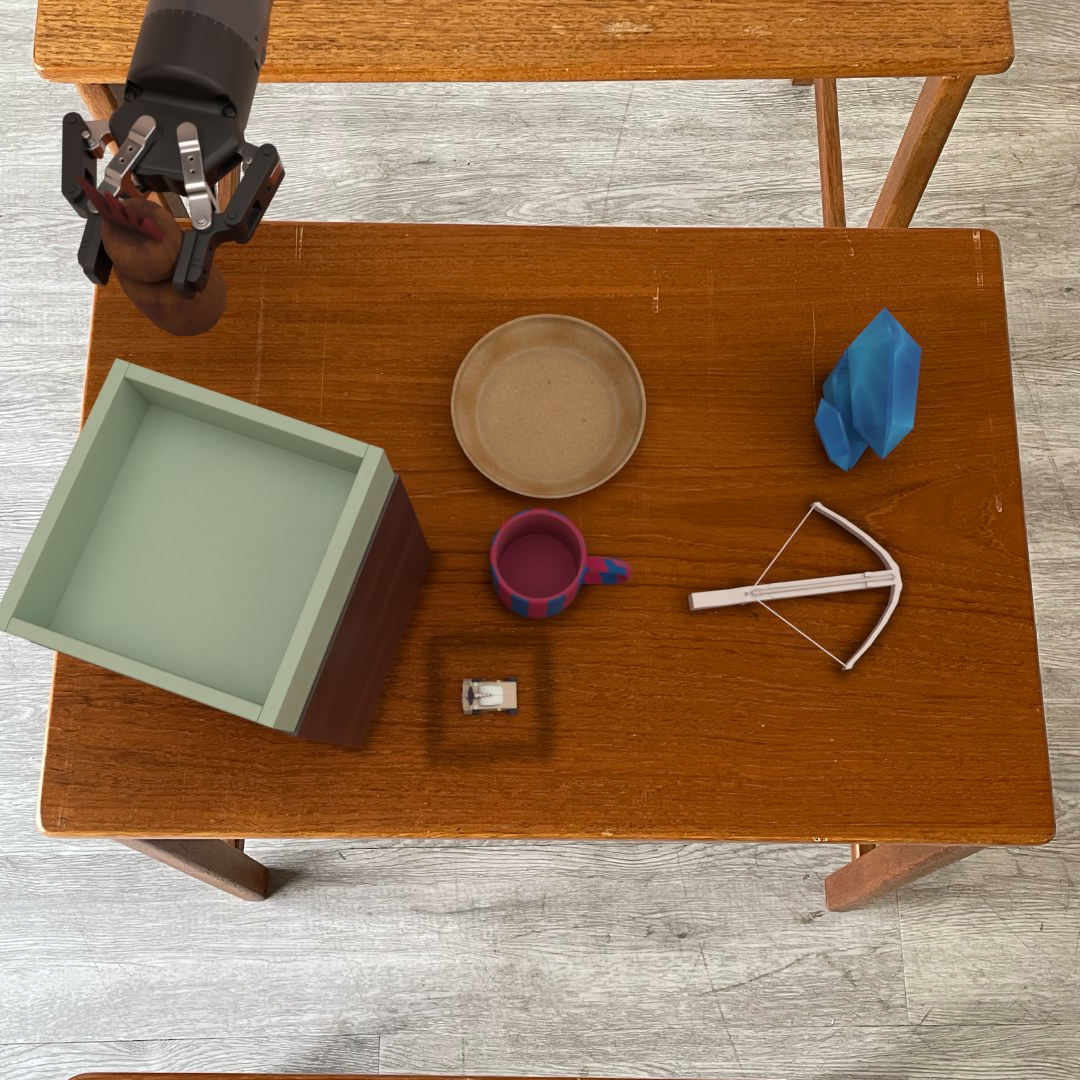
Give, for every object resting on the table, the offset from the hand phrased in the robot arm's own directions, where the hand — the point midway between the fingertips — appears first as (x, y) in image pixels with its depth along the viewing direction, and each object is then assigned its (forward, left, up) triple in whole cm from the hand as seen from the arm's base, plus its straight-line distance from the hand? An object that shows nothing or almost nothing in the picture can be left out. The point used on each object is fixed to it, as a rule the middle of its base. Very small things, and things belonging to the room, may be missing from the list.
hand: (139, 285), depth 63 cm
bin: (+13, -14, +4) cm, 20 cm away
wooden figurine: (-1, +3, -9) cm, 9 cm away
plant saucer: (+25, +7, -18) cm, 31 cm away
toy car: (+28, -15, -18) cm, 36 cm away
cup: (+30, -5, -18) cm, 35 cm away
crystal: (+47, +15, -18) cm, 52 cm away
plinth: (+13, -14, -18) cm, 26 cm away
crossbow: (+47, 0, -18) cm, 50 cm away
